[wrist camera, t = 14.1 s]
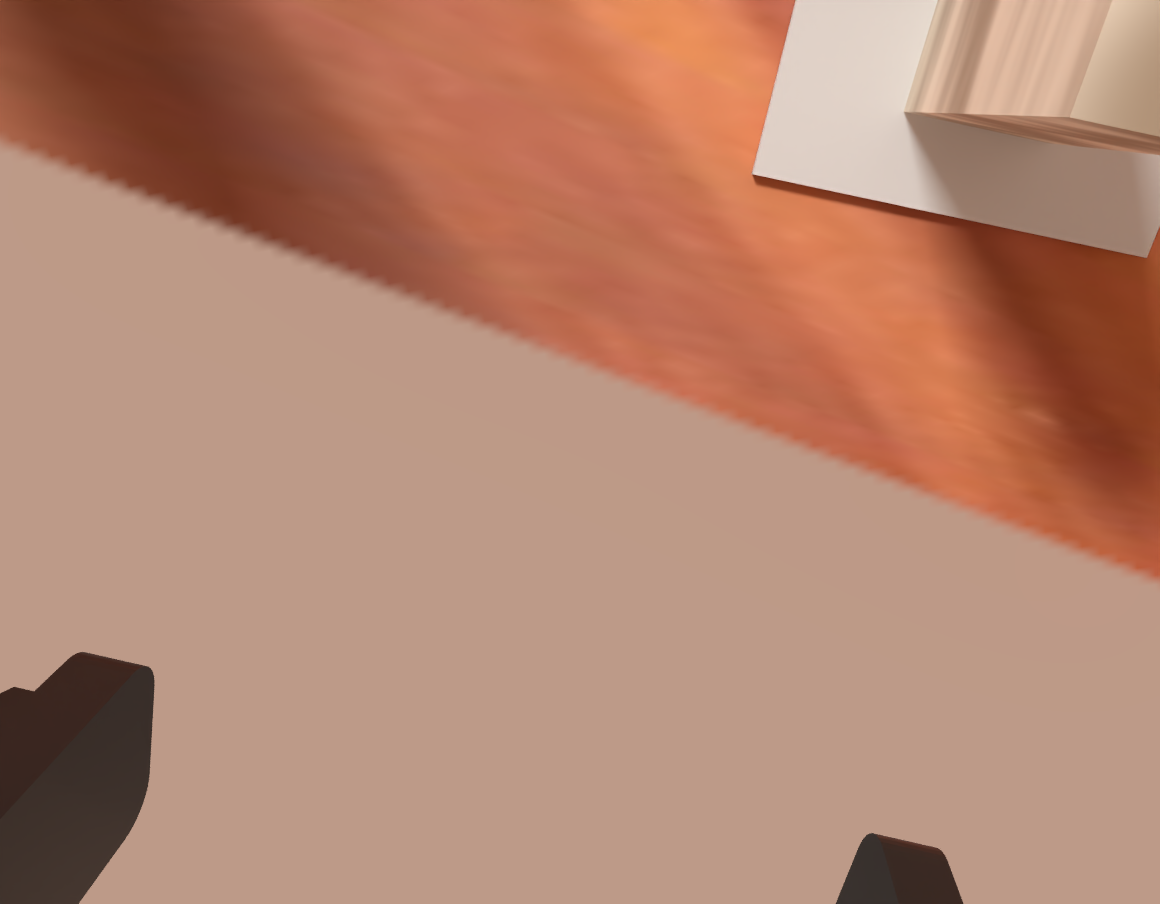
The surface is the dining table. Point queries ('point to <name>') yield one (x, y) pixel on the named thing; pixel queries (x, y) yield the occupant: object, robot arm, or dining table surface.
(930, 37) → the ash block
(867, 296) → the dining table surface
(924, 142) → the mat
